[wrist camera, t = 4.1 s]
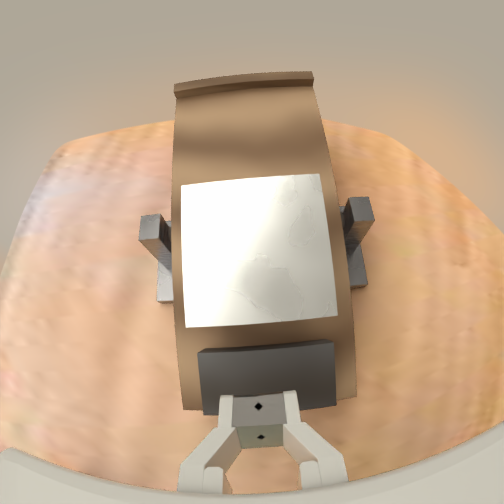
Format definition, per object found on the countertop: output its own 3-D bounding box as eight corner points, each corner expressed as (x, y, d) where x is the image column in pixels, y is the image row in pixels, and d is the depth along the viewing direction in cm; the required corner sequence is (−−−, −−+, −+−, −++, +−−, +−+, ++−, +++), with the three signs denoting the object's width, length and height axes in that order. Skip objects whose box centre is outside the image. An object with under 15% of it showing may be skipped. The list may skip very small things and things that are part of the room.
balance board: (177, 107, 25) (163, 75, 21) (313, 95, 25) (320, 60, 20) (184, 400, 20) (164, 420, 16) (355, 387, 20) (376, 404, 15)
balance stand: (163, 226, 29) (135, 185, 22) (349, 210, 29) (368, 165, 22) (160, 303, 26) (124, 280, 19) (364, 286, 26) (395, 257, 19)
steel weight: (299, 225, 20) (319, 173, 12) (308, 313, 19) (337, 315, 11) (212, 232, 20) (181, 185, 12) (217, 320, 19) (185, 327, 11)
